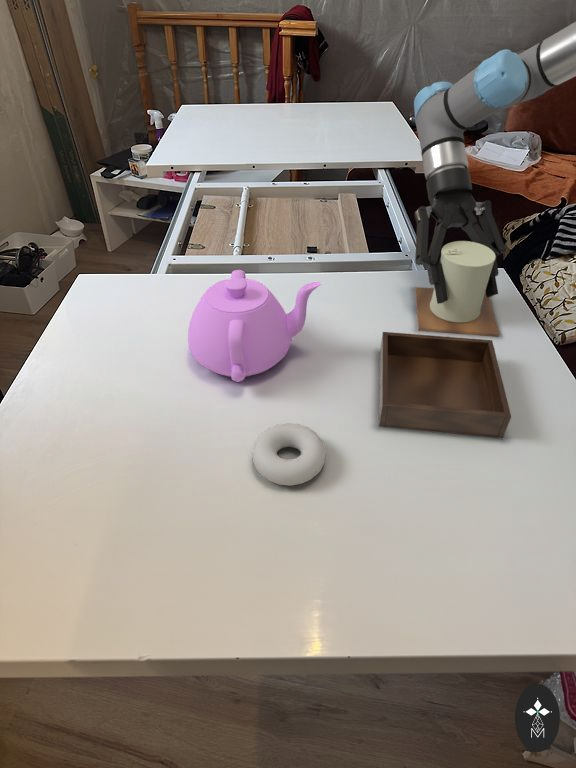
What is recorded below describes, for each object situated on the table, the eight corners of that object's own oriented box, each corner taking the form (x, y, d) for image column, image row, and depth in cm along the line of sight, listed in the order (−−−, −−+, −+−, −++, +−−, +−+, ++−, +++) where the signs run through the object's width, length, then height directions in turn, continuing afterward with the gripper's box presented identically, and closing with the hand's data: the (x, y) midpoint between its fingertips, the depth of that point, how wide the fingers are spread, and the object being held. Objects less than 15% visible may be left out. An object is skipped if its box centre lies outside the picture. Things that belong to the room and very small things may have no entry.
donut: (336, 478, 71) (309, 426, 78) (338, 462, 69) (310, 410, 75) (265, 500, 68) (243, 444, 75) (265, 484, 66) (242, 427, 73)
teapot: (324, 393, 83) (329, 320, 74) (184, 398, 82) (171, 325, 73) (312, 313, 99) (314, 246, 90) (195, 317, 99) (186, 249, 89)
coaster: (487, 294, 104) (488, 291, 104) (498, 336, 94) (499, 334, 94) (414, 289, 106) (415, 286, 105) (418, 330, 95) (418, 328, 95)
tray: (485, 361, 89) (492, 340, 86) (502, 438, 76) (511, 416, 73) (379, 352, 91) (382, 331, 88) (378, 426, 78) (382, 405, 75)
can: (426, 295, 103) (437, 237, 95) (474, 295, 103) (489, 238, 95) (433, 322, 96) (446, 263, 88) (485, 323, 96) (503, 264, 88)
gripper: (491, 179, 101) (511, 296, 100) (383, 189, 97) (402, 310, 96) (513, 160, 93) (535, 286, 92) (397, 170, 90) (418, 301, 89)
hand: (467, 298), depth 94 cm, fingers closed on can, 9 cm apart
